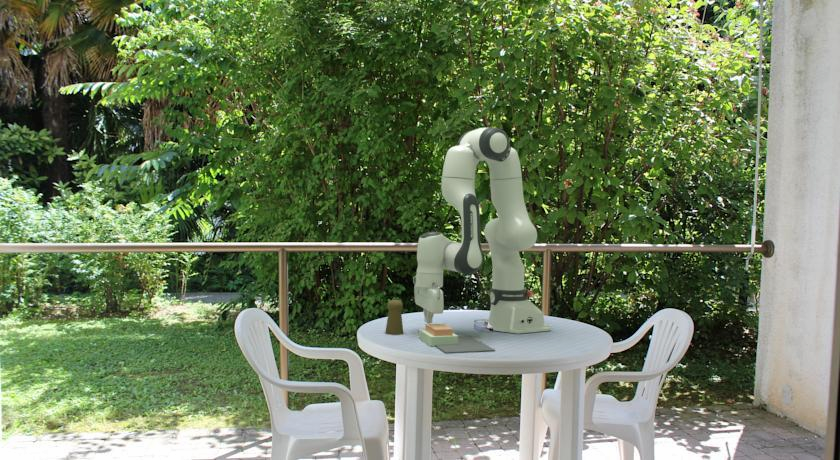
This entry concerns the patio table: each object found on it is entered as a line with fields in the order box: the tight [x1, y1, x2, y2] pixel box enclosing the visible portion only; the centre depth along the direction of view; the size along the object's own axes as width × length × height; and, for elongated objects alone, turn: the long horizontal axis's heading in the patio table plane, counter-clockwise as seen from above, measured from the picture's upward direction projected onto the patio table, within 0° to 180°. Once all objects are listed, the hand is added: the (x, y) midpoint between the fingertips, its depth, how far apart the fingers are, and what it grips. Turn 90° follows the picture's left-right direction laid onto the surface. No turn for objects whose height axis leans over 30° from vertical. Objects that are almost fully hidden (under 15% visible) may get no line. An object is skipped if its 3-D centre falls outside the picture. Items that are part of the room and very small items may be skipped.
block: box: [425, 323, 454, 336], centre depth 227 cm, size 6×9×2 cm, turn 18°
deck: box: [418, 328, 459, 348], centre depth 228 cm, size 9×12×3 cm
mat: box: [435, 335, 496, 355], centre depth 225 cm, size 16×21×1 cm
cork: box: [385, 299, 404, 336], centre depth 240 cm, size 6×6×11 cm
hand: (428, 322), depth 237 cm, fingers closed
